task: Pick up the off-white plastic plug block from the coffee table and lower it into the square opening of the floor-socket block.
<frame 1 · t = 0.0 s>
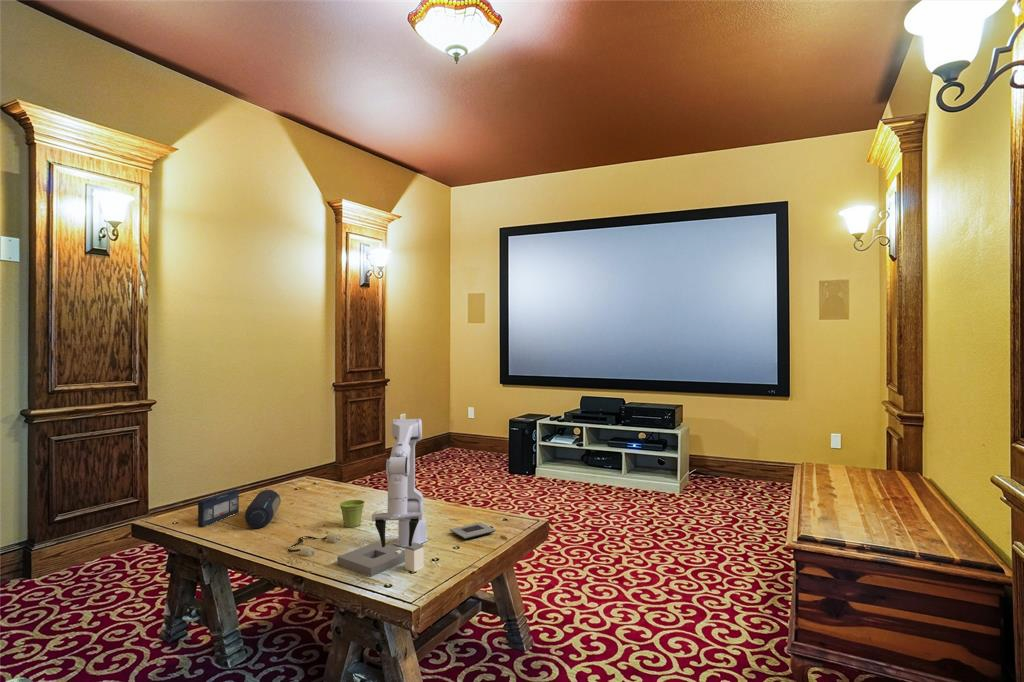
hand: (396, 546, 165), 11 cm above the table, tool pointing down, fingers open, 7 cm apart
vhs cassette tape: (219, 520, 224), on the table
cable: (308, 548, 194), on the table
electrical outlet: (472, 535, 206), on the table
socket block: (374, 561, 180), on the table
plug: (414, 568, 175), on the table
plant pot: (352, 526, 216), on the table
portable speaker: (263, 521, 223), on the table
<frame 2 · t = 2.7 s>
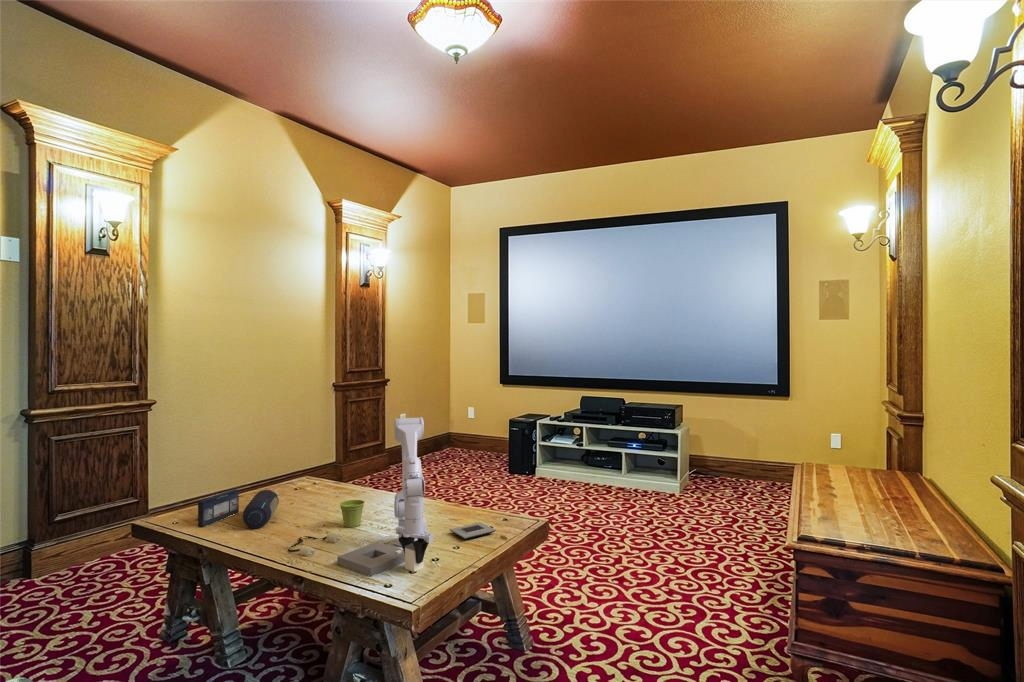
hand: (414, 560, 175), 2 cm above the table, tool pointing down, fingers closed on plug, 4 cm apart
plug: (414, 568, 175), on the table, touching gripper
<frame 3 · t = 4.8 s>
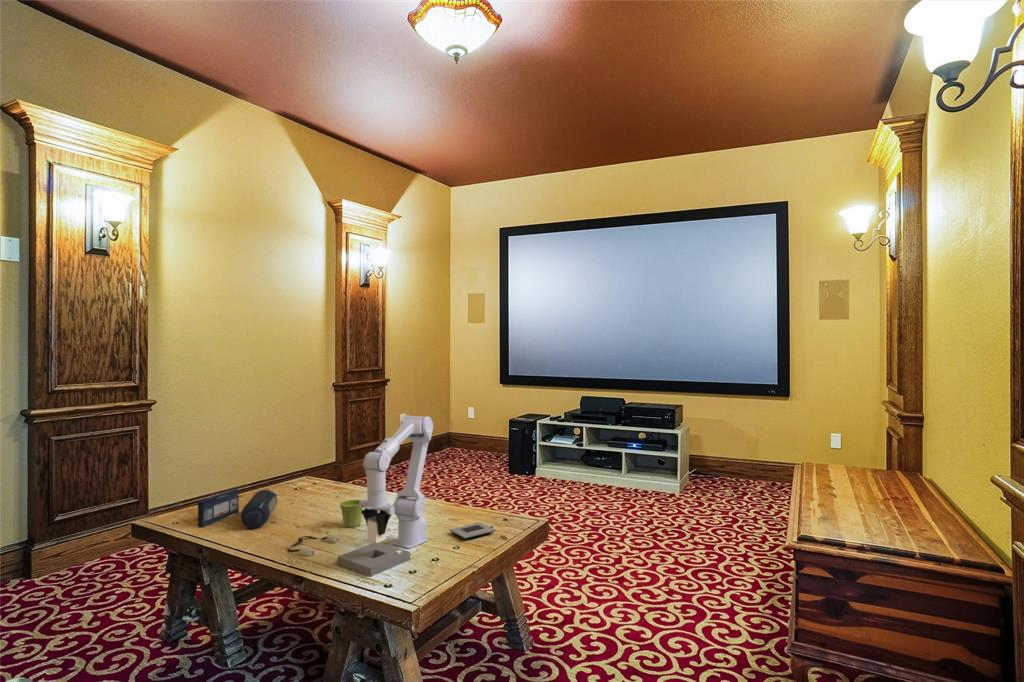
hand: (376, 532, 180), 9 cm above the table, tool pointing down, fingers closed on plug, 4 cm apart
plug: (376, 540, 180), point 7 cm above the table, touching gripper
when the fingers open (4 cm above the table, at t = 6.8 s): plug drops 2 cm, resting in socket block.
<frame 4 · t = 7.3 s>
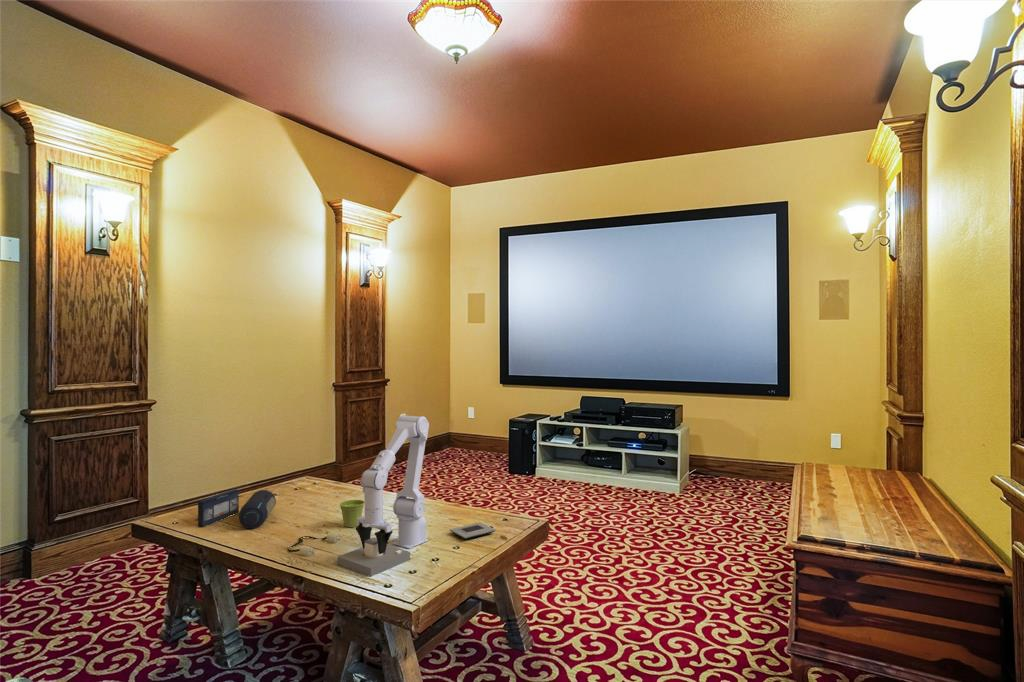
hand: (374, 550, 180), 4 cm above the table, tool pointing down, fingers open, 7 cm apart
plug: (373, 562, 180), resting in socket block
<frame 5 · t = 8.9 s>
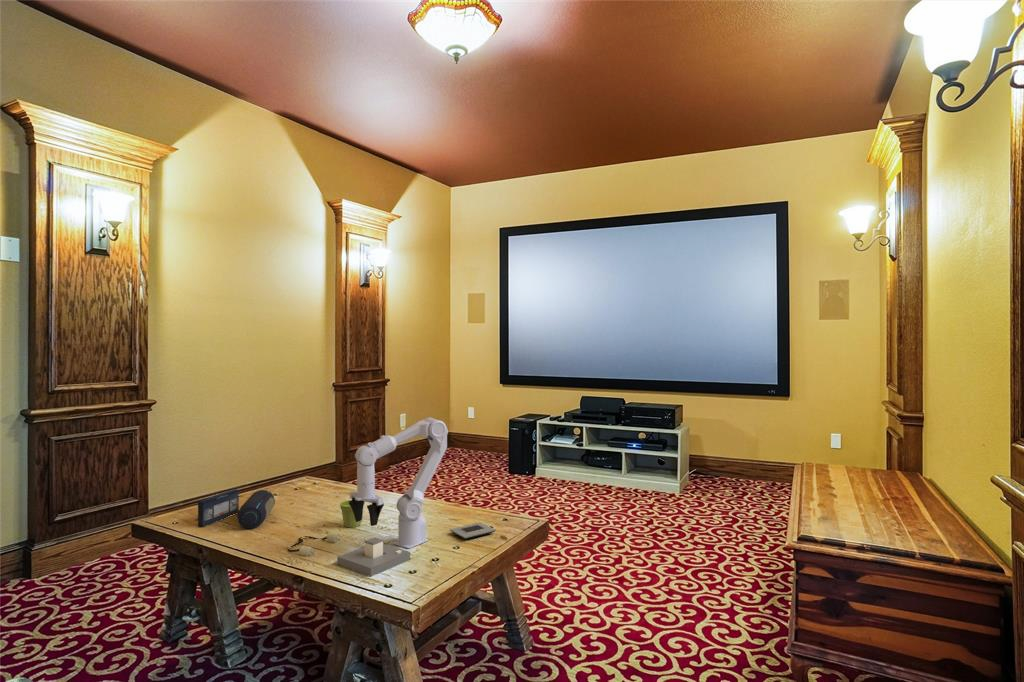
hand: (366, 523, 190), 9 cm above the table, tool pointing down, fingers open, 7 cm apart
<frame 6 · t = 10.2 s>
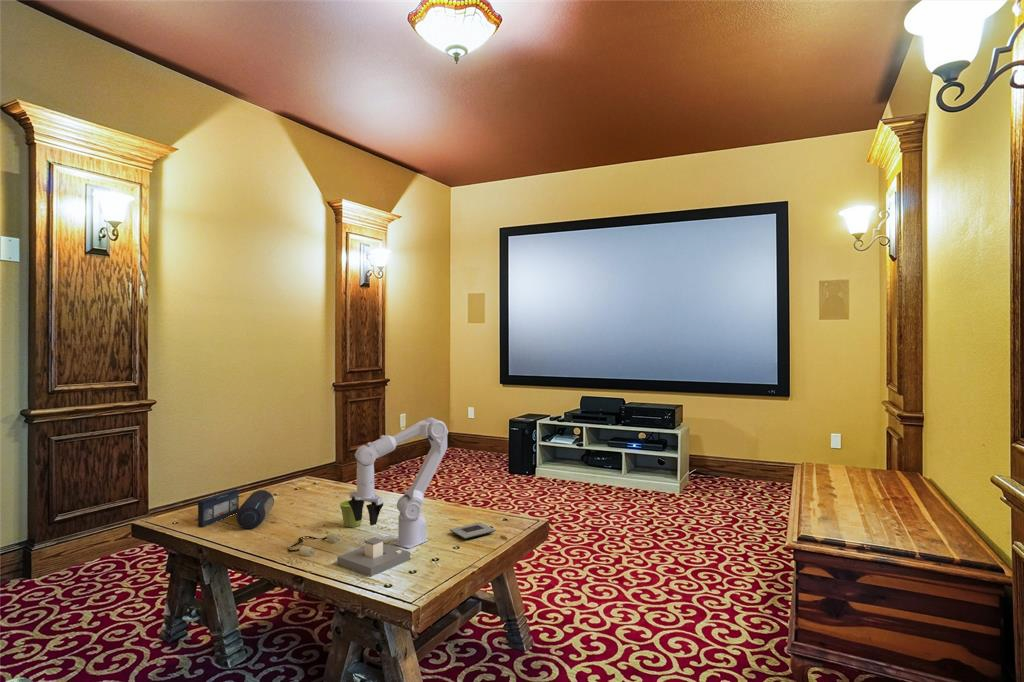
hand: (365, 522, 190), 9 cm above the table, tool pointing down, fingers open, 7 cm apart
at the end: plug 0.1 cm off-centre on the socket block, point 0.0 cm above the socket block's base; plug tilted 0°; the gripper is holding nothing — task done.
